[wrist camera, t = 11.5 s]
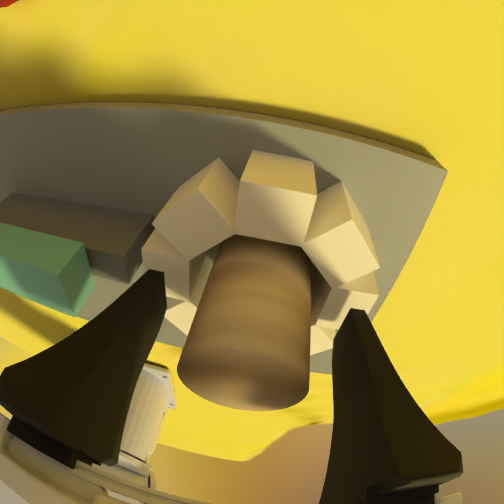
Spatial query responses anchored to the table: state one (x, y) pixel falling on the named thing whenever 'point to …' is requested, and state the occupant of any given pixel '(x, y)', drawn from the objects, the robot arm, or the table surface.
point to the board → (184, 144)
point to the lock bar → (45, 268)
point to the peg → (252, 327)
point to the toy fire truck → (6, 3)
